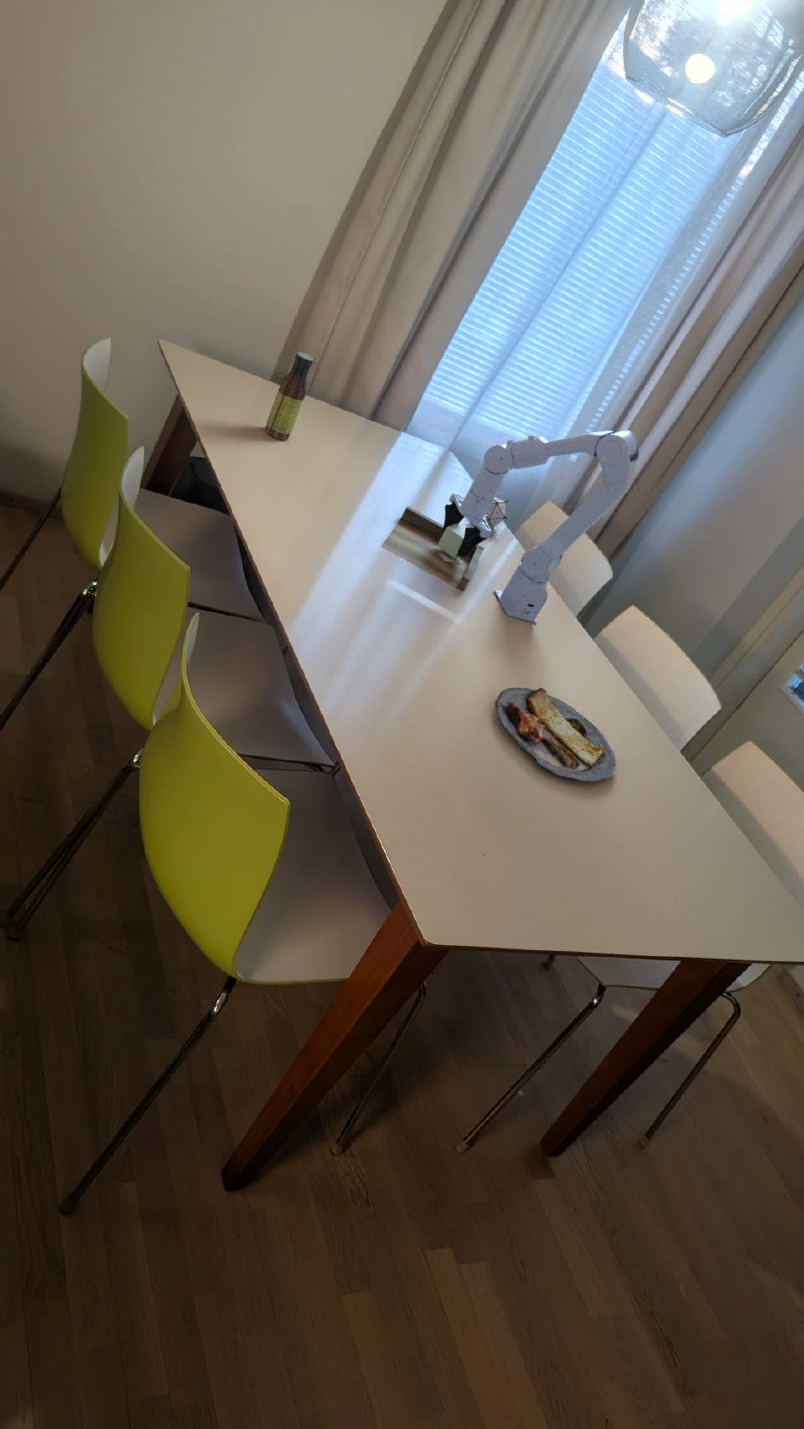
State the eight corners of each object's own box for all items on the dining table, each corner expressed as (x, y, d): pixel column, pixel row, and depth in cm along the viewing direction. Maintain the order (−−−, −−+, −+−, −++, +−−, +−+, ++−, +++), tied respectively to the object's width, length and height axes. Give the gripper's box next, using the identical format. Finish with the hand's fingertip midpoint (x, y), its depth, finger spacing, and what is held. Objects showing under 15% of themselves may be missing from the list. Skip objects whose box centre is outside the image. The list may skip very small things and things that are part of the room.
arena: (461, 595, 225) (469, 580, 223) (379, 550, 224) (387, 534, 222) (476, 562, 242) (484, 548, 240) (400, 520, 241) (407, 505, 239)
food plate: (469, 702, 191) (478, 688, 189) (541, 688, 208) (550, 675, 206) (560, 800, 180) (571, 786, 179) (628, 777, 198) (639, 763, 196)
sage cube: (454, 558, 232) (464, 539, 229) (437, 545, 233) (446, 527, 231) (464, 554, 236) (474, 535, 234) (446, 541, 237) (456, 523, 235)
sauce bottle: (293, 440, 250) (325, 364, 239) (277, 442, 245) (310, 364, 234) (273, 425, 251) (304, 349, 241) (257, 427, 246) (288, 349, 236)
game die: (479, 540, 263) (492, 523, 254) (462, 512, 264) (474, 493, 255) (507, 527, 266) (521, 509, 257) (490, 499, 267) (503, 480, 258)
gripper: (512, 515, 225) (482, 567, 232) (477, 479, 234) (450, 529, 241) (488, 511, 221) (459, 564, 228) (454, 474, 229) (427, 526, 236)
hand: (453, 546), depth 234 cm, fingers closed on sage cube, 7 cm apart
